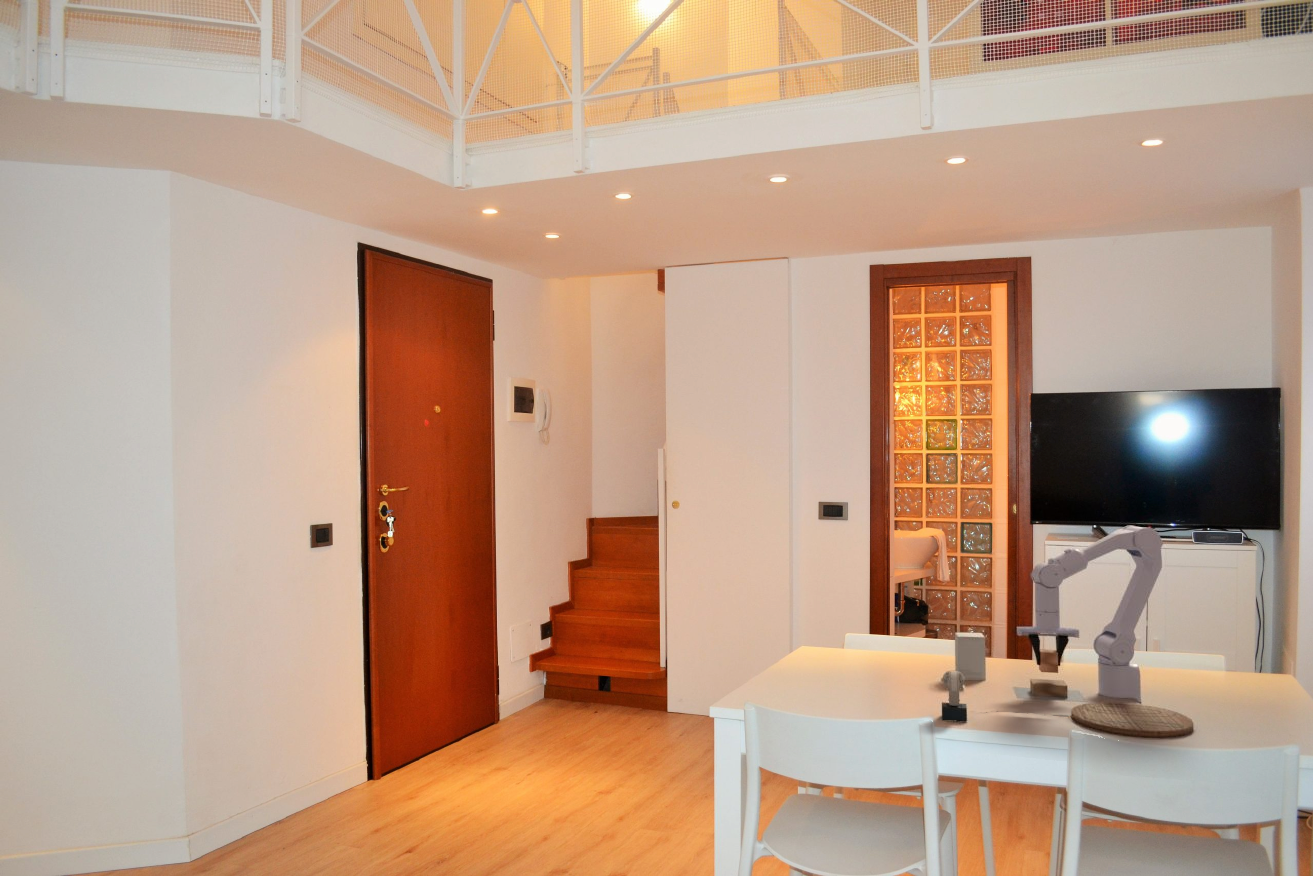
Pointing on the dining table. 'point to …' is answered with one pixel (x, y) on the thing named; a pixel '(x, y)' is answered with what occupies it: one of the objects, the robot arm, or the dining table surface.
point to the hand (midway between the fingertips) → (1048, 664)
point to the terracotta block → (1048, 661)
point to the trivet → (1132, 720)
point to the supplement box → (970, 655)
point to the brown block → (1048, 688)
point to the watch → (953, 697)
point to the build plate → (1027, 694)
